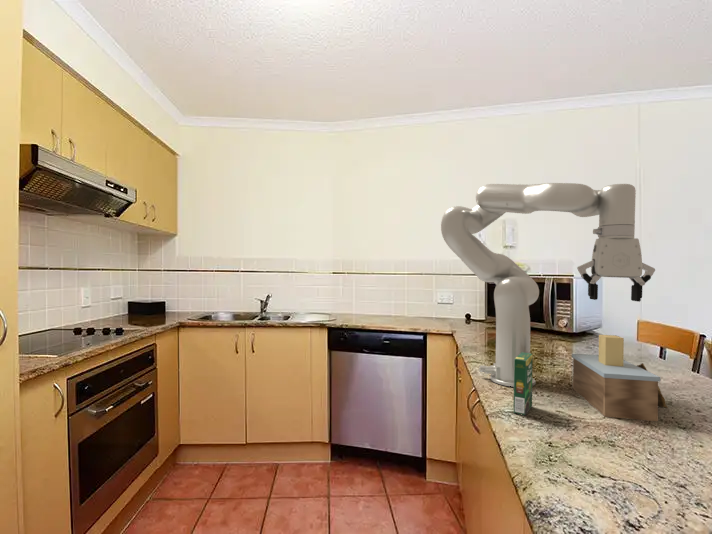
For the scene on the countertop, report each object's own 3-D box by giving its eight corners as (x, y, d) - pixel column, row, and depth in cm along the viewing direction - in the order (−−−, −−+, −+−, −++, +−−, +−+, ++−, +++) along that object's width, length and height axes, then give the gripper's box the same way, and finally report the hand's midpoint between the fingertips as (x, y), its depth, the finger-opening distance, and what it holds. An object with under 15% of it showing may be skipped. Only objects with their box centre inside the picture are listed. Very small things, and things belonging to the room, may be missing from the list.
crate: (604, 416, 85) (605, 377, 85) (572, 388, 105) (573, 357, 105) (657, 421, 83) (658, 381, 83) (614, 392, 103) (615, 359, 103)
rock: (618, 381, 106) (614, 384, 98) (641, 360, 103) (639, 361, 96) (656, 412, 100) (655, 418, 92) (682, 391, 97) (683, 395, 89)
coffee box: (525, 417, 84) (526, 359, 84) (512, 414, 86) (513, 357, 86) (533, 406, 91) (533, 353, 91) (520, 404, 92) (521, 351, 93)
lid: (604, 377, 85) (604, 342, 85) (571, 356, 106) (572, 328, 106) (660, 381, 83) (660, 345, 83) (615, 359, 103) (616, 330, 103)
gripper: (584, 231, 93) (582, 299, 93) (663, 232, 89) (661, 303, 89) (573, 234, 100) (572, 297, 100) (646, 235, 97) (644, 300, 97)
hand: (614, 300), depth 95 cm, fingers open, 9 cm apart
